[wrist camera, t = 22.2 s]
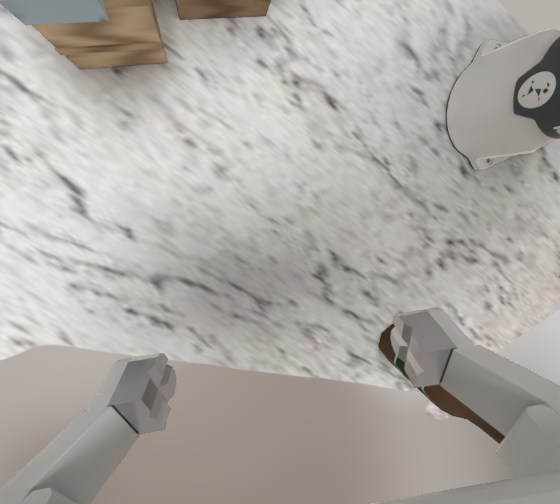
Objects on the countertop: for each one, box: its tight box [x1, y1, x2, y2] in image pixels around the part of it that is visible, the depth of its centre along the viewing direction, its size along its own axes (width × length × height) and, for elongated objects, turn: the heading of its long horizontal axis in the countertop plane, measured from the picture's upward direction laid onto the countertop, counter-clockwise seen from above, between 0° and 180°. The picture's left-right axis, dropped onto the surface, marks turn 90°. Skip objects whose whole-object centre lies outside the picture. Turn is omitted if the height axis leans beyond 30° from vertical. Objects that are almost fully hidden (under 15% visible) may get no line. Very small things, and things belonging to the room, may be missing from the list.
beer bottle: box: [379, 324, 505, 444], centre depth 38 cm, size 8×8×24 cm
